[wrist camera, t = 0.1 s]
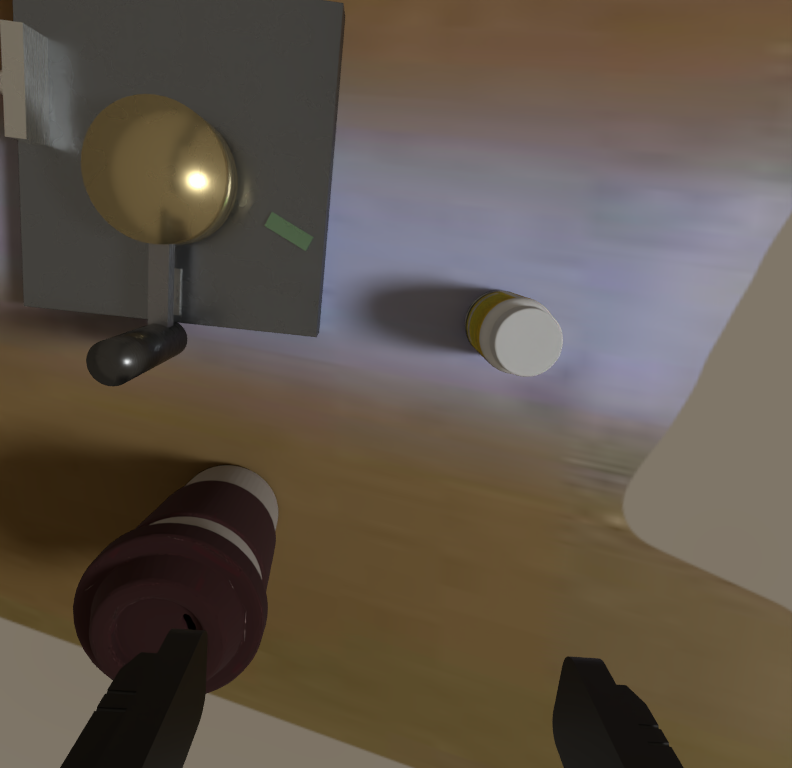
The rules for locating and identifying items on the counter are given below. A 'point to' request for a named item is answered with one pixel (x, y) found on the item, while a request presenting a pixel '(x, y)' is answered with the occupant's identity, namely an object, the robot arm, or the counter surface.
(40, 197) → the stand
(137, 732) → the robot arm
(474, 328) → the supplement bottle
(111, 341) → the cam capstan
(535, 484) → the counter surface
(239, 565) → the coffee cup
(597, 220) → the counter surface
